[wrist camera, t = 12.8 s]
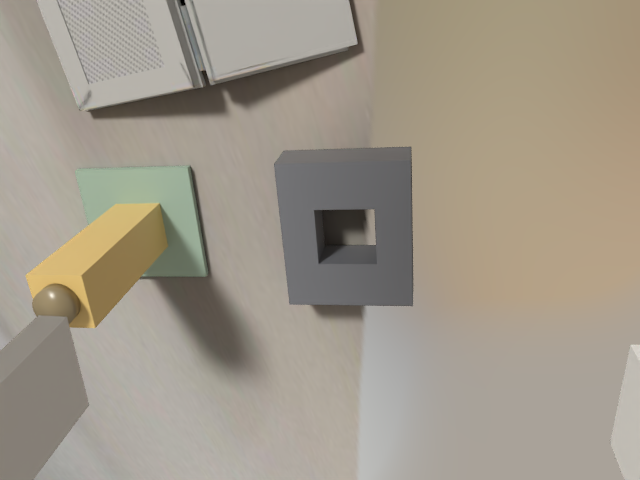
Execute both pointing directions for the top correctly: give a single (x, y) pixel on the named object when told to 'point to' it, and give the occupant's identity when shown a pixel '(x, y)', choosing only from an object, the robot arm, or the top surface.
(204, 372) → the top surface
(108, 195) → the mat
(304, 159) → the grey block with hole
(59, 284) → the plug
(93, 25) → the gadget
